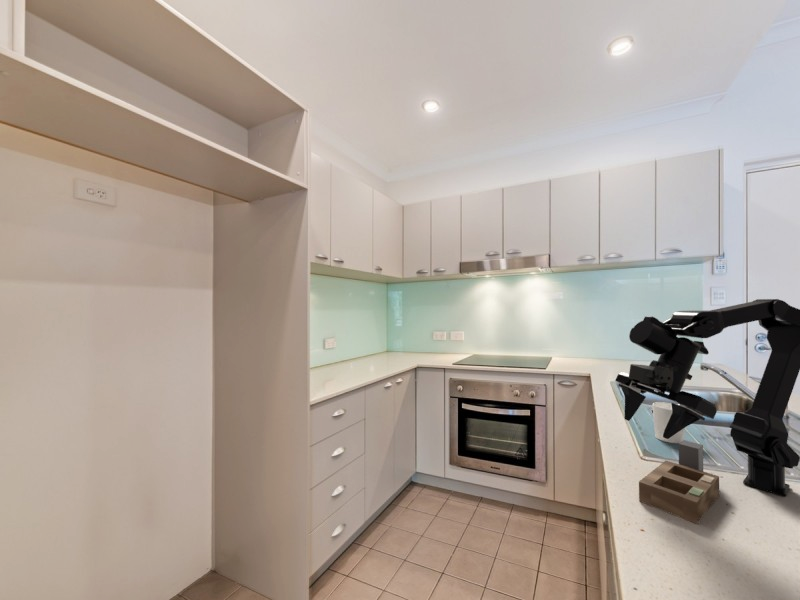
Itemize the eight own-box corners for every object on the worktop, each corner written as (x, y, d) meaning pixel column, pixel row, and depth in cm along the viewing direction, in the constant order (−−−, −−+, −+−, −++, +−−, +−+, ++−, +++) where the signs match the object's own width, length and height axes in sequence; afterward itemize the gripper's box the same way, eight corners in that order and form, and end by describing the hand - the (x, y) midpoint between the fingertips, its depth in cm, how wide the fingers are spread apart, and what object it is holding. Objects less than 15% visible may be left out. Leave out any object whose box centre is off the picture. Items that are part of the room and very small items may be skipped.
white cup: (671, 434, 108) (670, 401, 108) (693, 444, 100) (693, 409, 100) (646, 434, 108) (646, 402, 108) (666, 444, 100) (666, 410, 100)
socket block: (666, 477, 81) (665, 459, 81) (719, 495, 74) (719, 474, 74) (639, 500, 72) (638, 480, 72) (697, 524, 64) (696, 500, 64)
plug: (684, 473, 83) (683, 440, 83) (703, 479, 80) (702, 444, 81) (679, 477, 81) (678, 443, 81) (698, 484, 78) (698, 448, 78)
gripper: (612, 340, 83) (585, 399, 83) (693, 358, 65) (659, 434, 64) (645, 359, 86) (619, 416, 85) (732, 381, 68) (699, 454, 67)
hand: (644, 428), depth 75 cm, fingers open, 9 cm apart
